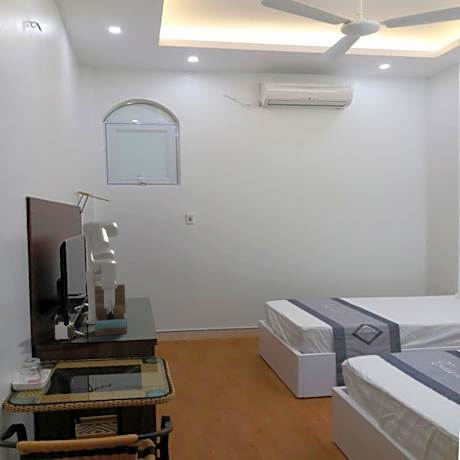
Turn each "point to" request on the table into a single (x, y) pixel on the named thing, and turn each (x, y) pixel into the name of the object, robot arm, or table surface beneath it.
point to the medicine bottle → (64, 329)
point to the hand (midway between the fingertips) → (110, 321)
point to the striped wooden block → (118, 310)
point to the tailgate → (110, 324)
